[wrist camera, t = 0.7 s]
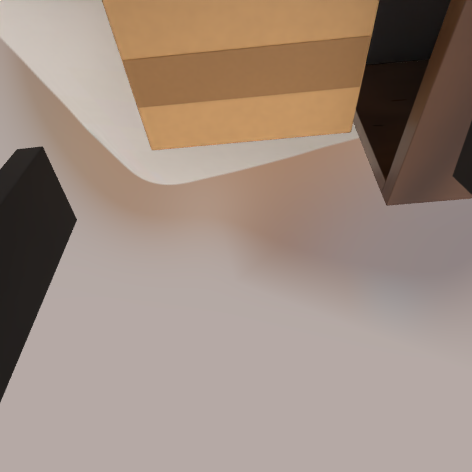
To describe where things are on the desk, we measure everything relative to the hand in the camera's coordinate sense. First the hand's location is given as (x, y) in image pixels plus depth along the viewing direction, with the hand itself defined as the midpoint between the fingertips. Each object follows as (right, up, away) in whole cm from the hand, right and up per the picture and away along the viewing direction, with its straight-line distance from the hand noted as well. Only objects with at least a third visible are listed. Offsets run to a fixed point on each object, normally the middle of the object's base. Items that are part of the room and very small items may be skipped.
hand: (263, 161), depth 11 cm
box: (-1, +17, +17) cm, 24 cm away
